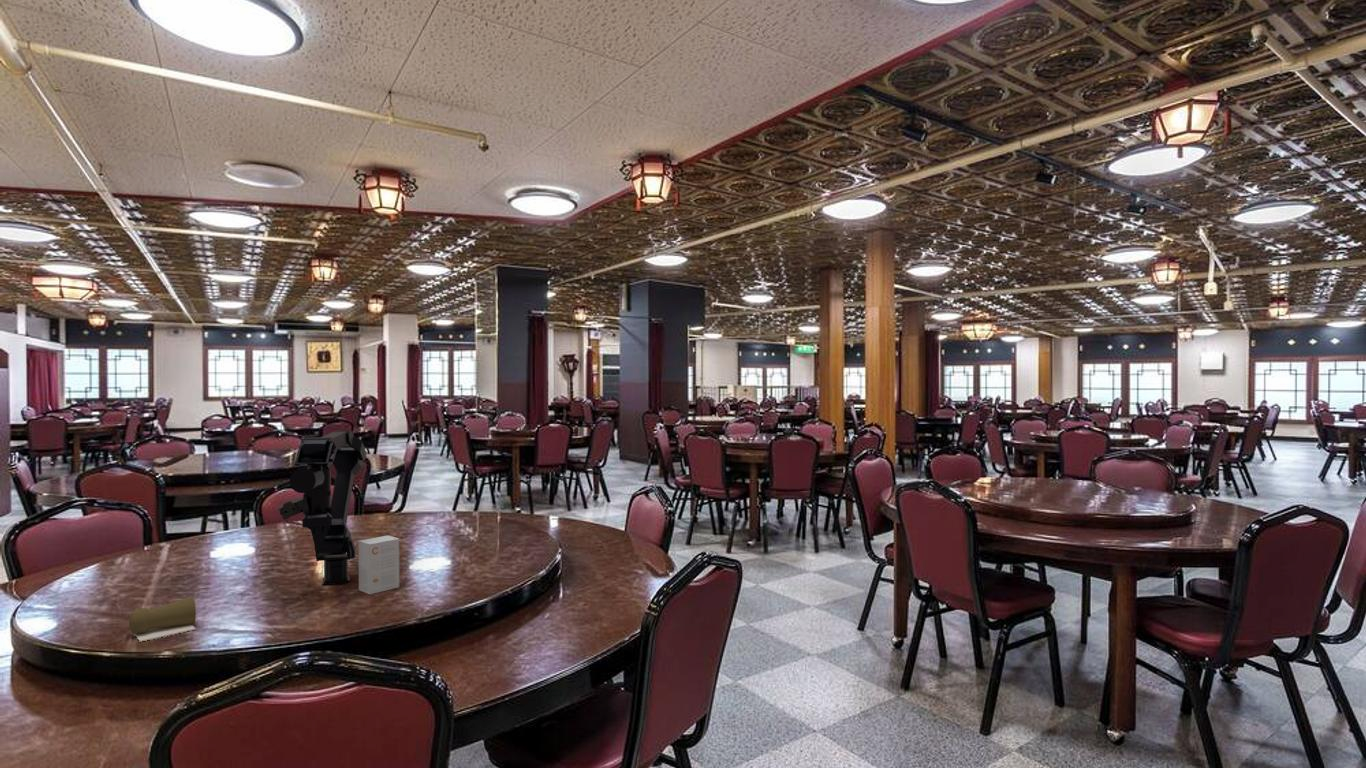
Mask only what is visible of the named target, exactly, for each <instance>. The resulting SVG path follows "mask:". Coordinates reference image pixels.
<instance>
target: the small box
mask: <svg viewBox="0 0 1366 768" xmlns="http://www.w3.org/2000/svg"><path fill="white" fill-rule="evenodd" d="M357 543H358V544H357V546H358V591H360V592H363V593H364V594H368V595H373V594H377V593H382V592H385V591H389V590H394V589H399V588H400V539H399V538H398V537H395V536H393V535H383V536H377V537H371V538H367V539H366V538H365V539H361V540H358V542H357Z"/></svg>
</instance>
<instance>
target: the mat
mask: <svg viewBox="0 0 1366 768" xmlns="http://www.w3.org/2000/svg"><path fill="white" fill-rule="evenodd" d="M192 630H195V631H197V629H196V627H195V626H194V624H193V625H192V624H190V625H182V626H173V627H163V628H153V629H149V630H147V631H146V632H144V633H140V634H133V636H134V637H135V636H136V637H137V638H136V637H135V638H136V640H137V639H138V640H139V641H138V640H137V641H138V642H139V643H140V642H141V643H143V642H142V641H146V642H148V641H147V640H150V641H154V640H153V639H155V640H159V639H162V638H161V637H163V638H168V637H171V636H170V635H172V636H176V635H175V634H177V635H179V634H178V633H181V634H184V633H183V632H186V633H188V632H187V631H190V632H193V631H192ZM167 636H168V637H167ZM158 638H159V639H158Z"/></svg>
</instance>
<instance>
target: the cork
mask: <svg viewBox="0 0 1366 768" xmlns="http://www.w3.org/2000/svg"><path fill="white" fill-rule="evenodd" d="M196 614H197V610H196V602H195V598H194V596H191V597H186V598H184V599H183V598H182V599H180V600H177V601H174V602H170V603H167V604H163V605H160V606H156V607H154V608H146V607H143V608H142V607H141V608H136V609H134V610H133V611H131V612H130V615H129V618H128V627H129V630H130V632H131V633H132V634H133V633H134V634H140V633H144V632H146V631H147V630H149V629H153V628H163V627H173V626H182V625H190V624H192V625H193V626H194V625H195V624H196V617H197V615H196ZM134 634H133V635H134Z"/></svg>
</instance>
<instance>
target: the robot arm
mask: <svg viewBox="0 0 1366 768" xmlns="http://www.w3.org/2000/svg"><path fill="white" fill-rule="evenodd" d="M366 457H367V451H366V447H365V445H364V442H363V441H362V440H361V439H359V438H358V437H356V436H355V434H354V433H353V431H352V430H349V429H334V430H332V431H330V432H329V433H328V434H326V435H323V436H321V437H315V436H314V437H304V438H303V439H302V441H301V442H300V444H299V446H298V449H297V454H296V458H295V461H294V467H298V470H296V471H294V472H292V475H290V479H289V486H290V488H291V489H292V491H294V492H295V493H299V494H302V497H299V498H297V499H294V500H292V501H291V500H288V501H287V502H283V504H281V505H279V507H278V508H277V509H278V512H279V515H280V516H281V519H282V521H285V520H288V519H290V518H291V517H294V516H296V515H299V514H301V513H302V514H303V515H304V516H302V522H301V523H302V525H301V526H302V528H304V529H306V528H307V529H308V530H310V532H311V536H312V540H313V541H312V542H313V546H314V553H315V559H316V562H320V561H323V577H322V579H321V580H322V582H321V583H322V584H321V585H322V586H328V585H337V584H344V583H349V582H350V574H349V573H348V571H349V569H348V568H349V564H348V562H349V561H350V560H351V559H352V560H353V559H356V545H355V542H354V541H353V538H352V533H351V531H350V529H349V527H348V525H347V523H348V515H349V510H350V504H351V498H352V493H353V492H352V491H353V487H354V480H355V475H357V474H358V473H359V471H361V470H362V468H363V465H364V461H365V460H366ZM332 465H333V467H334V468H335V471H336V473H335V474H336V475H335V481H334V485H333V490H332V480H331V479H332V478H331V477H332V476H331V475H332V473H331V471H332V470H331V469H332V468H331V467H332ZM332 491H333V492H332Z"/></svg>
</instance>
